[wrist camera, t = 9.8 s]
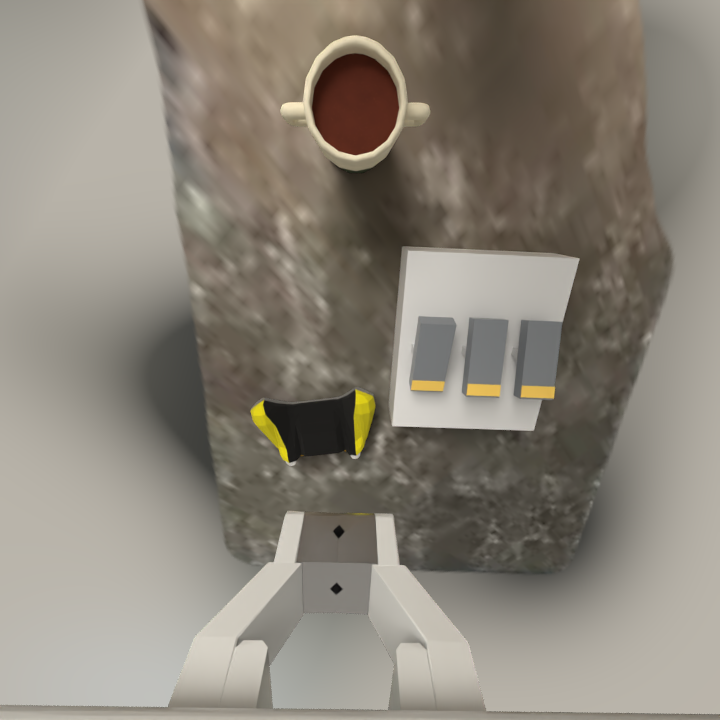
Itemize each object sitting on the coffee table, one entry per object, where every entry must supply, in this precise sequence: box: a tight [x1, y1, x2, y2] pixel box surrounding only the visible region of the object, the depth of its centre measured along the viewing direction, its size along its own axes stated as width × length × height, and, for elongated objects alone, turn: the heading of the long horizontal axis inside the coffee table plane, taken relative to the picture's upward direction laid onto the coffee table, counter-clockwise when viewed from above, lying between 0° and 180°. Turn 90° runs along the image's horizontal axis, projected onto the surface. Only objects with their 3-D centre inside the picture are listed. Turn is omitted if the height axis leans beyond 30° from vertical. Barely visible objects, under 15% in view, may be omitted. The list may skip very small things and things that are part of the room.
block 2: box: [513, 320, 562, 400], centre depth 37 cm, size 8×3×2 cm, turn 178°
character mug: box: [280, 35, 431, 173], centre depth 30 cm, size 11×7×13 cm, turn 90°
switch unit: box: [389, 246, 580, 431], centre depth 41 cm, size 20×17×6 cm
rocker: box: [462, 317, 509, 398], centre depth 37 cm, size 8×3×2 cm, turn 178°
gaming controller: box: [251, 387, 375, 466], centre depth 45 cm, size 15×6×10 cm
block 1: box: [409, 316, 457, 392], centre depth 37 cm, size 8×3×2 cm, turn 177°
